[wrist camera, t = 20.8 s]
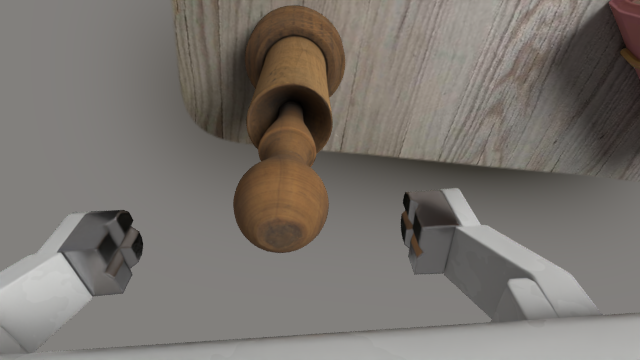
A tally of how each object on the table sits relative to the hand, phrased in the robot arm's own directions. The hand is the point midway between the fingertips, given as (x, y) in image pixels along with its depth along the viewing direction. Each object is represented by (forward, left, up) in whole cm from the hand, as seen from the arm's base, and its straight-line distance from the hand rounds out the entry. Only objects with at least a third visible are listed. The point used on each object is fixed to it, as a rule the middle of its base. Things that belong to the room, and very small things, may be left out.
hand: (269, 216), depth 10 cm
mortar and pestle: (0, 0, -18) cm, 18 cm away
